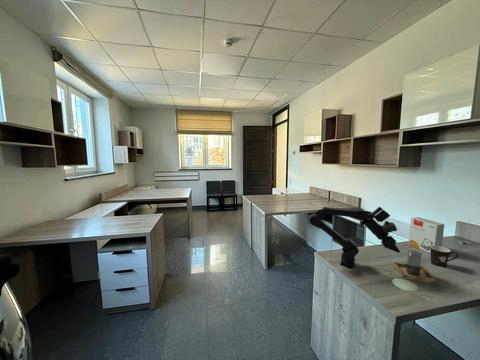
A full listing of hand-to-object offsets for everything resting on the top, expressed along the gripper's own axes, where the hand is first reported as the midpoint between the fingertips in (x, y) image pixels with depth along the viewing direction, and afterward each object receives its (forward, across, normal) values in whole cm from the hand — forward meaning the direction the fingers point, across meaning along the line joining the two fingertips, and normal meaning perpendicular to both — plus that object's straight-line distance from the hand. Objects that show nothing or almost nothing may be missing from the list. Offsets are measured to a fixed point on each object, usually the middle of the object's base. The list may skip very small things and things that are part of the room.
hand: (396, 248), depth 113 cm
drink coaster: (+10, -13, +9) cm, 19 cm away
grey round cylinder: (+15, 0, +3) cm, 15 cm away
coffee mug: (+30, +16, -10) cm, 35 cm away
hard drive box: (+30, +39, -11) cm, 50 cm away
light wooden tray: (+16, 0, +4) cm, 16 cm away
